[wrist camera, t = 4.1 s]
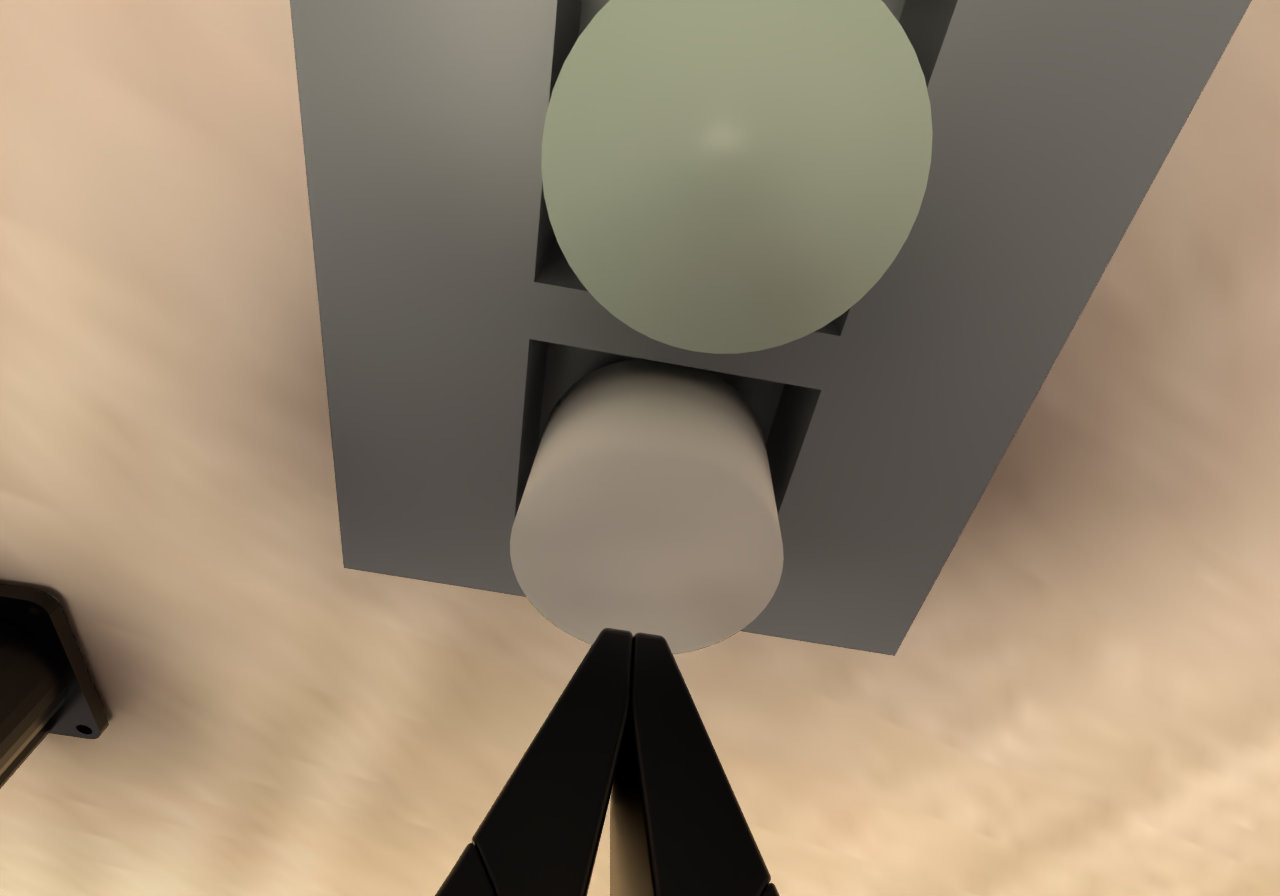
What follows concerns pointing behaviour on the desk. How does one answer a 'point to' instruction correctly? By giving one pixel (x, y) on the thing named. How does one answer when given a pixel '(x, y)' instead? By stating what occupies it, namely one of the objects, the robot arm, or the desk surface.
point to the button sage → (735, 164)
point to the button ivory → (650, 509)
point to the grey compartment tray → (767, 379)
